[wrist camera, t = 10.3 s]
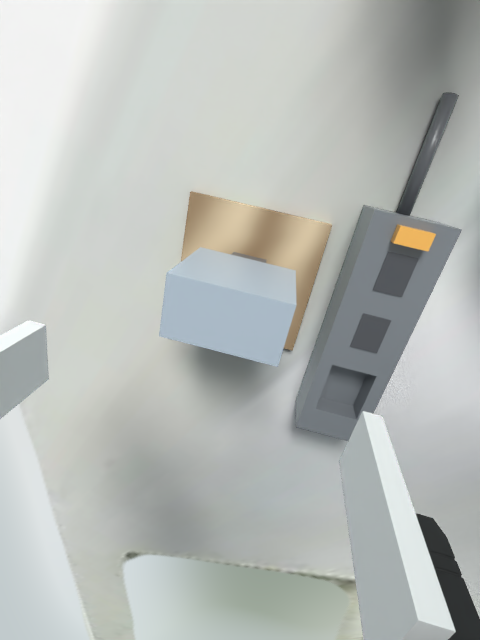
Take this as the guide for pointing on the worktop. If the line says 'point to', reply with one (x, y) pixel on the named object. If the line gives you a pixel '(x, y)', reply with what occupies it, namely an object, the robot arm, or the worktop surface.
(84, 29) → the worktop surface
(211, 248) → the tan flat square block
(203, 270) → the block
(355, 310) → the power strip
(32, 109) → the worktop surface
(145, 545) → the worktop surface
